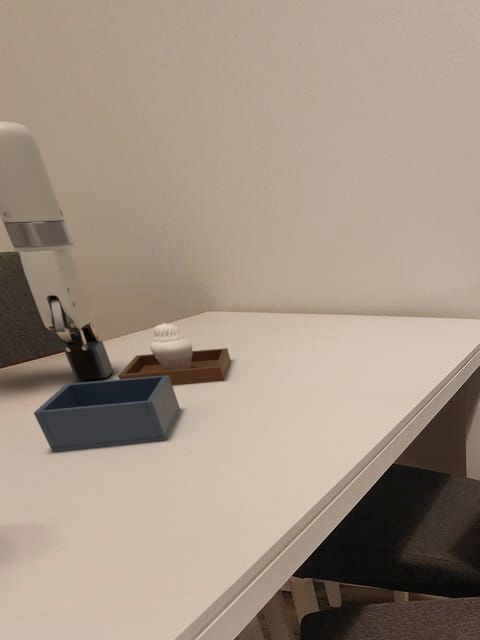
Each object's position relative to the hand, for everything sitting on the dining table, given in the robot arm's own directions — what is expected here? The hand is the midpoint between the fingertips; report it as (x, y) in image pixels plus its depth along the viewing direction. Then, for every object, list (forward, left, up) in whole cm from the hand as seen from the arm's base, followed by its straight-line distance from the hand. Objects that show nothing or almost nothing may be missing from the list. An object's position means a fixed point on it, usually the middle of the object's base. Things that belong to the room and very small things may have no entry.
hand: (94, 372), depth 94 cm
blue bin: (+10, -30, -1) cm, 32 cm away
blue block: (0, 0, 0) cm, 0 cm away
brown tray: (+13, -3, -1) cm, 14 cm away
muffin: (+13, -3, 0) cm, 14 cm away
